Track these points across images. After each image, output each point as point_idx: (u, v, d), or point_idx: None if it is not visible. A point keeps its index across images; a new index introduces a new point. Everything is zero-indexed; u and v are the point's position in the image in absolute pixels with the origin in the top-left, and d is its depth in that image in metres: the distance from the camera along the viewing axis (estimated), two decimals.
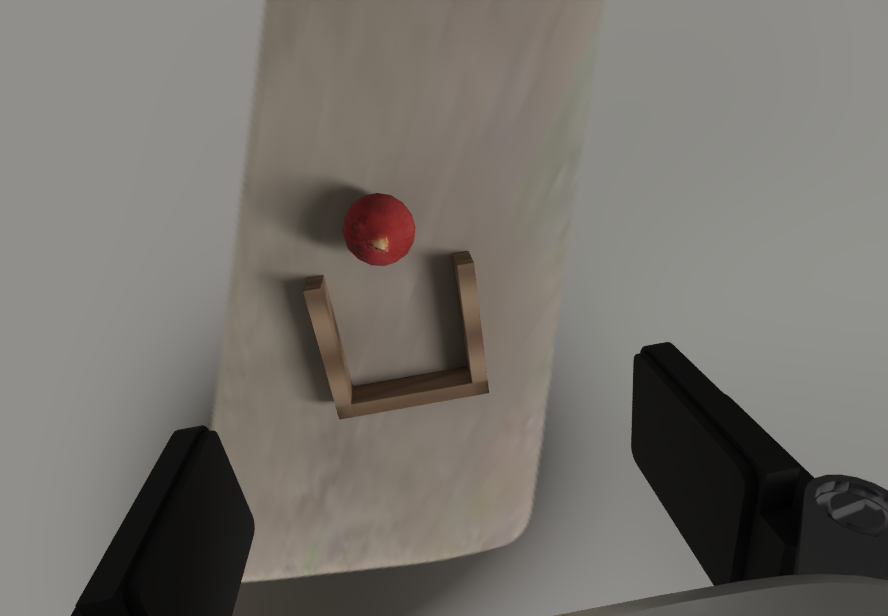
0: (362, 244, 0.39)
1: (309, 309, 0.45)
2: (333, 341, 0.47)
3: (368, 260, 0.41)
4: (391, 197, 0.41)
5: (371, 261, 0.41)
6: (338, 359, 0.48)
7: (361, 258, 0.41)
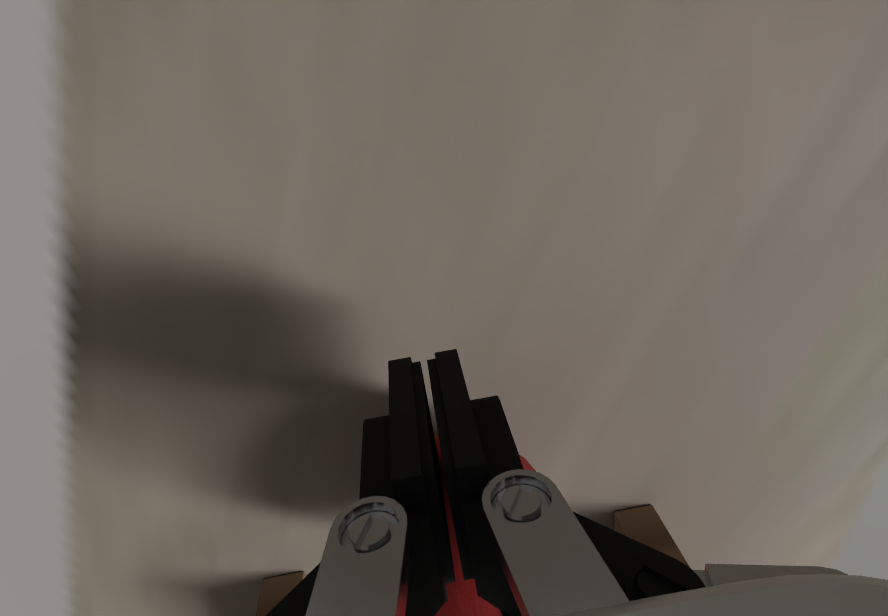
0: None
1: None
2: None
3: None
4: None
5: None
6: None
7: None
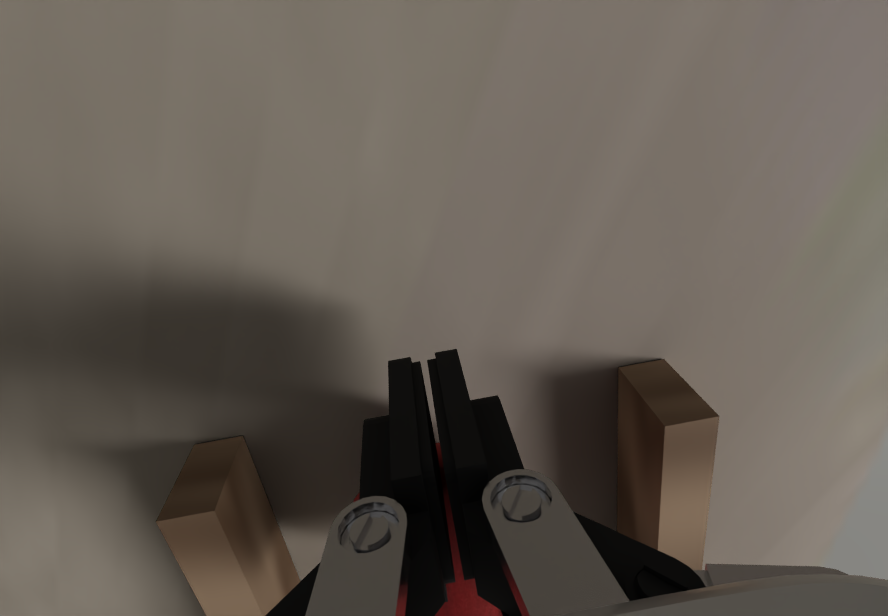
0: None
1: (185, 567, 0.14)
2: None
3: None
4: None
5: None
6: None
7: None
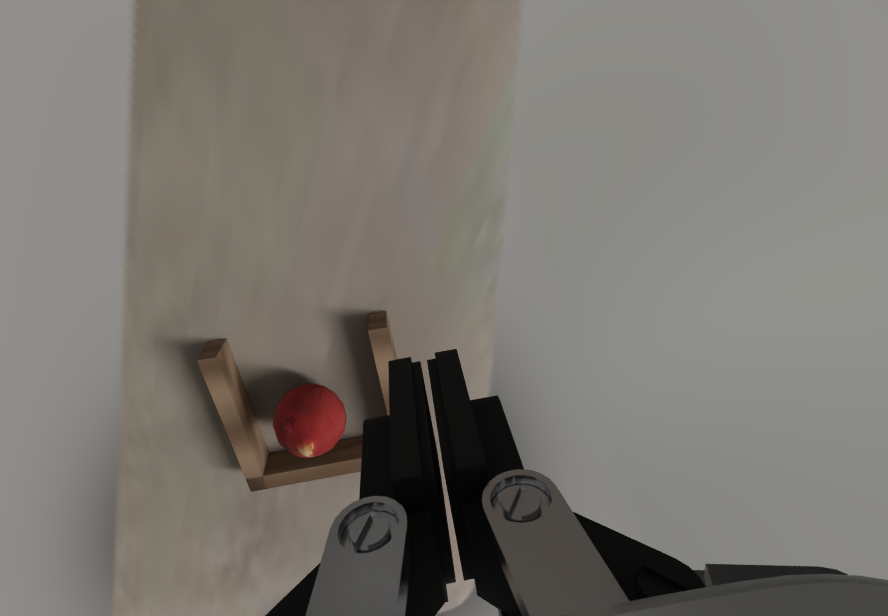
0: (288, 445, 0.40)
1: (206, 379, 0.41)
2: (236, 411, 0.43)
3: None
4: (324, 394, 0.42)
5: None
6: (244, 430, 0.43)
7: None
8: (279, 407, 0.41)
